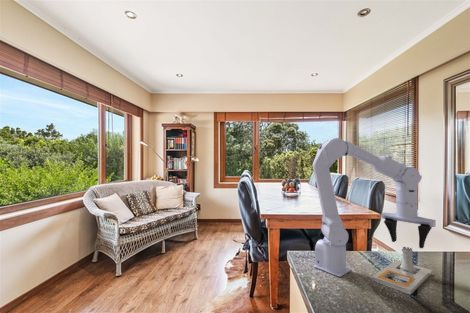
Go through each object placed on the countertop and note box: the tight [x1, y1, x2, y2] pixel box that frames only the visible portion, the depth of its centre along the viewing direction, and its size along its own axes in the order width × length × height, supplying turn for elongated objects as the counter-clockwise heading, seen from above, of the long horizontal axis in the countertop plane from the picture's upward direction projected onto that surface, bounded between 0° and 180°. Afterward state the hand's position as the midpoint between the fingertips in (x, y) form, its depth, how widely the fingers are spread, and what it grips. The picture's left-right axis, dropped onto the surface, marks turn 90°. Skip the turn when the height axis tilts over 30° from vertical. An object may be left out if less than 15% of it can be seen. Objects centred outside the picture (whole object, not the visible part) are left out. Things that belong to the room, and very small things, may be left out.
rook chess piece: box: [399, 246, 417, 274], centre depth 79 cm, size 4×4×8 cm
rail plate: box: [371, 259, 432, 295], centre depth 76 cm, size 10×20×1 cm, turn 128°
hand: (407, 244), depth 79 cm, fingers open, 7 cm apart
